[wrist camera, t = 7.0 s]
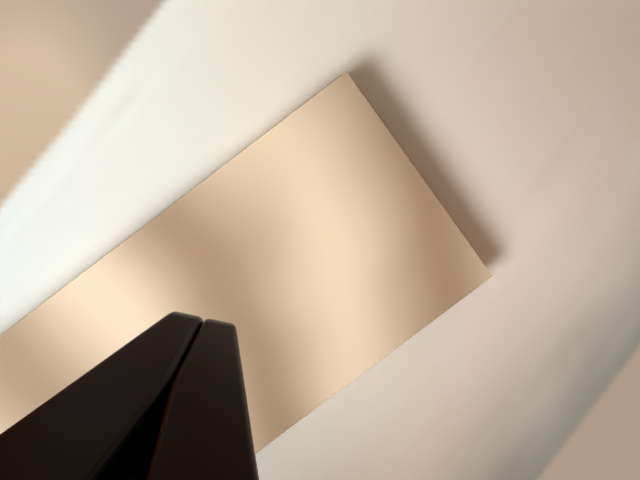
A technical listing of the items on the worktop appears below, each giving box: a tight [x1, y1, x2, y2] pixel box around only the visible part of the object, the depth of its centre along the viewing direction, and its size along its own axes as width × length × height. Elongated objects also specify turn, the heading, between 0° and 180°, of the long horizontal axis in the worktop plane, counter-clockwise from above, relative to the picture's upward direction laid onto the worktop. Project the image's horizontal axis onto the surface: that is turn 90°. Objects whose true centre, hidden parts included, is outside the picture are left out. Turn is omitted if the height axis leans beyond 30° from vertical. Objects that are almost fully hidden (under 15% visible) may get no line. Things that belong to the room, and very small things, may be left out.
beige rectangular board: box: [0, 72, 492, 453], centre depth 20 cm, size 16×8×1 cm, turn 127°
